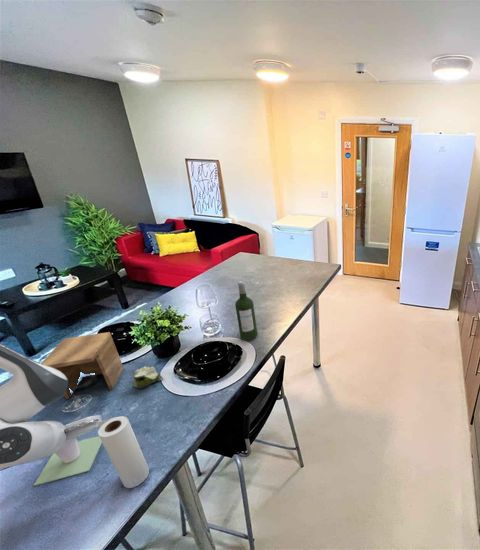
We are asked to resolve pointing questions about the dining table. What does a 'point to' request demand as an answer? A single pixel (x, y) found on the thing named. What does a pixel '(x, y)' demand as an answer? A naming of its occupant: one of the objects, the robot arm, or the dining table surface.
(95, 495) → the dining table surface
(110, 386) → the desk
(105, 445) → the paper towel roll
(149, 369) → the mossy rock
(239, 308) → the wine bottle
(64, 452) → the smoothie
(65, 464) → the mat
